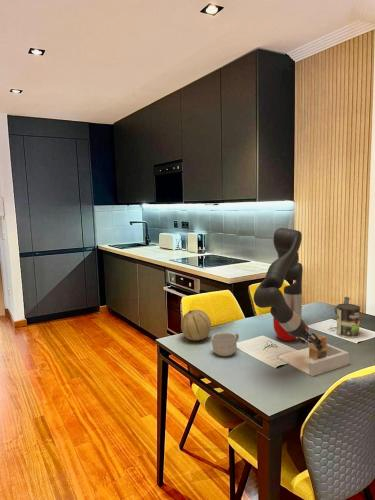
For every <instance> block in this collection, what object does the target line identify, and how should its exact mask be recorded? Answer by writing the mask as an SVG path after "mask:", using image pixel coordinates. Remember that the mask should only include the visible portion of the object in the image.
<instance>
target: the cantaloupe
mask: <svg viewBox="0 0 375 500" xmlns="http://www.w3.org/2000/svg"><path fill="white" fill-rule="evenodd" d="M180 329H181V332H182V334H183V335H184V336H185V338H187V339H188V340H191V341H201V340H204V339H205V338H206V337H208V335H210V332H211V330H212V321H211V319H210V317H209V315H208V314H207V313H206V312H205V311H203V310H201V309H192V310H191V309H190V310H189V311H187V312H186V313H185V314H184V315H183V316H182V319H181V321H180Z"/></svg>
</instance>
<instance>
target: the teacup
mask: <svg viewBox="0 0 375 500" xmlns="http://www.w3.org/2000/svg"><path fill="white" fill-rule="evenodd" d="M239 338H240V335H239V333H237V332H234V333H232V332H219V333H215V334H212V336H211V343H212V350H213V351H214V353H215V354H216V355H218V356H220V357H230V356H232V355H233V354H234V353H235V352H236V351H237V348H238V347H237V343H238V341H239Z"/></svg>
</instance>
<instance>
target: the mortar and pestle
mask: <svg viewBox="0 0 375 500" xmlns="http://www.w3.org/2000/svg"><path fill="white" fill-rule="evenodd" d="M343 299H344V300H343V304H350V300H351V299H350V297H348V296H344V297H343ZM334 314H335V315H336V316H337V305H336V306H334Z"/></svg>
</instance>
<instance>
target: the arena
mask: <svg viewBox="0 0 375 500" xmlns="http://www.w3.org/2000/svg"><path fill="white" fill-rule="evenodd" d="M349 356H350V354H349V351H346V350H343V349H341V348H338V347H336V346H333V345H332V344H329V343H327V357H325V358H321V359H318V360H314V359H312V358H310V357H309V345H308V347H306V348H302V349H298V350H294V351H291V352H287V353H283V354H281V355H277V356H276V358H277V357H278V358H277V359H279V358H280V359H282V360H283V361H282V360H281V361H282V362H284V361H285V362H284V363H286V364H288V365H290V366H292V367H293V368H296V369H297V370H300V371H301V372H303V373H305V374H307V375H309V376H311V377H315V376H318V375H321V374H324V373H327V372H331V371H334V370H336V369H340V368H342V367H346V366H348V365H349V363H350V362H349V359H350V357H349ZM280 359H279V360H280Z"/></svg>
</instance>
